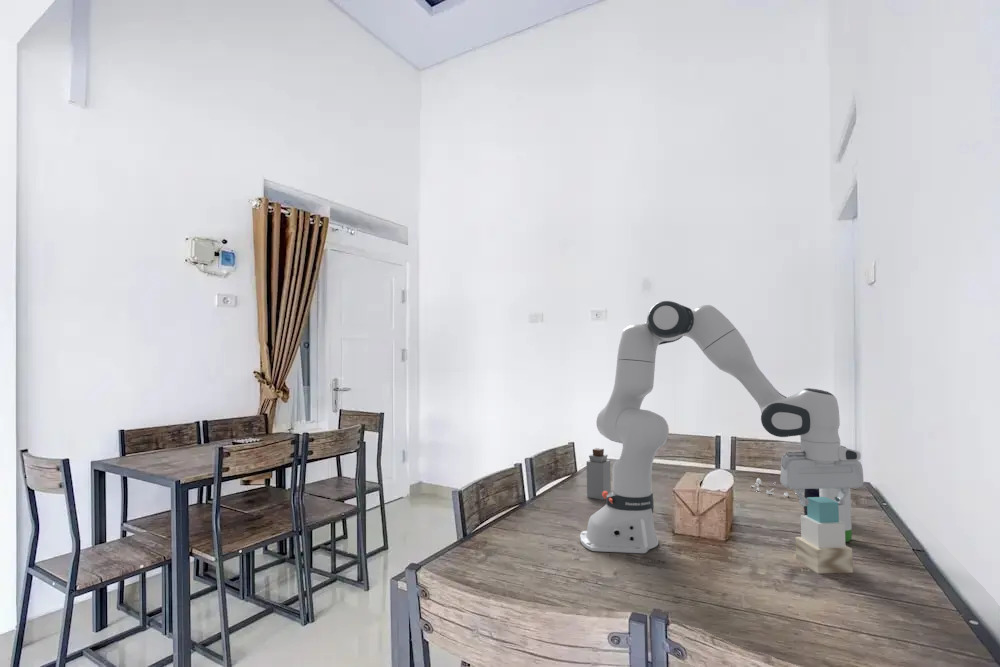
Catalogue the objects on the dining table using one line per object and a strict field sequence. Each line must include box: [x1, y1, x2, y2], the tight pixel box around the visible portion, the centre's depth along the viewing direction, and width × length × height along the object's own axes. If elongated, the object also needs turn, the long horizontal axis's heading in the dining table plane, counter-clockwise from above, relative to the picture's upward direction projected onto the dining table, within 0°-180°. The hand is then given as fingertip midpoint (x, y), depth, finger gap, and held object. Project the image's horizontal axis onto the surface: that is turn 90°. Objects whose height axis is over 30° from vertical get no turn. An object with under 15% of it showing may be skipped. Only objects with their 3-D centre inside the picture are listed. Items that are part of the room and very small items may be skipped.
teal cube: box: [807, 497, 839, 523], centre depth 135 cm, size 5×5×5 cm
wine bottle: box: [819, 488, 853, 543], centre depth 153 cm, size 8×8×30 cm
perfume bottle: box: [586, 447, 612, 501], centre depth 200 cm, size 7×7×18 cm
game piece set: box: [751, 477, 796, 497], centre depth 204 cm, size 19×20×4 cm
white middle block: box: [800, 515, 847, 548], centre depth 134 cm, size 7×7×6 cm
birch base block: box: [794, 536, 854, 574], centre depth 134 cm, size 9×9×6 cm
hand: (821, 505), depth 135 cm, fingers open, 8 cm apart
